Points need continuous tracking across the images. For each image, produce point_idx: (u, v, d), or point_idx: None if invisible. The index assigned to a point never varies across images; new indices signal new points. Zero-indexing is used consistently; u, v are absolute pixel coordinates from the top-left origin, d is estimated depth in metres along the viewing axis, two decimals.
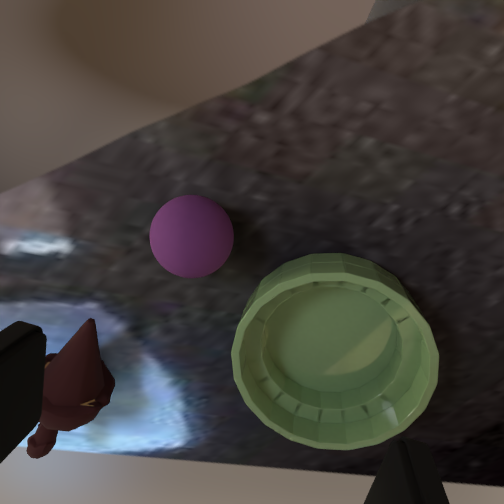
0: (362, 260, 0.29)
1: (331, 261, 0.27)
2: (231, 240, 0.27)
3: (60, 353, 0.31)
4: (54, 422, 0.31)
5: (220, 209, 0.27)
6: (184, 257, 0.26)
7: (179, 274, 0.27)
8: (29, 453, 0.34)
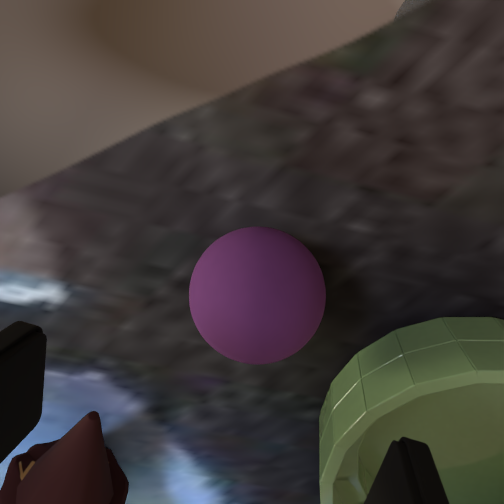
0: None
1: (491, 338, 0.16)
2: (324, 303, 0.17)
3: (47, 461, 0.21)
4: None
5: (308, 252, 0.16)
6: (254, 341, 0.15)
7: (239, 361, 0.16)
8: None
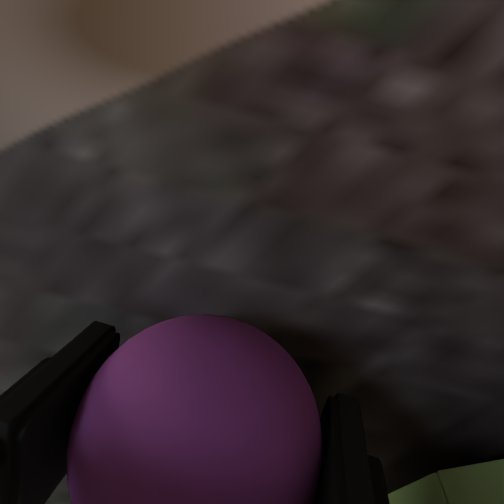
0: None
1: None
2: (321, 464, 0.09)
3: None
4: None
5: (289, 374, 0.09)
6: None
7: None
8: None
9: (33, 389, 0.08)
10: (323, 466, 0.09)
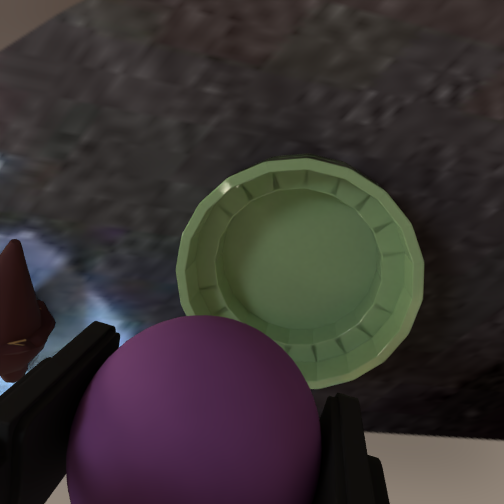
0: (333, 159, 0.24)
1: (294, 156, 0.23)
2: (320, 465, 0.09)
3: None
4: None
5: (288, 374, 0.09)
6: None
7: None
8: None
9: (33, 389, 0.08)
10: (323, 466, 0.09)
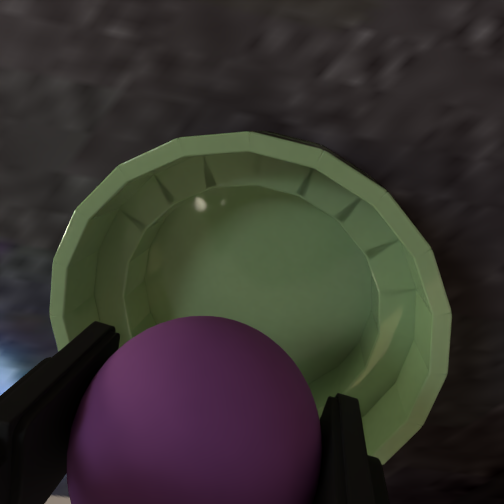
0: (303, 140, 0.15)
1: None
2: (320, 465, 0.09)
3: None
4: None
5: (288, 375, 0.09)
6: None
7: None
8: None
9: (33, 389, 0.08)
10: (323, 466, 0.09)
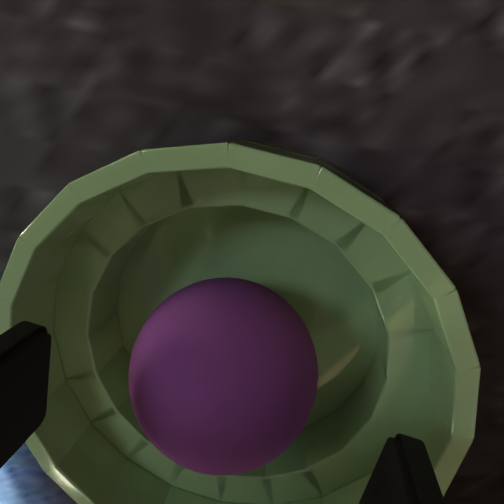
0: (298, 151, 0.13)
1: None
2: (316, 386, 0.12)
3: None
4: None
5: (293, 317, 0.12)
6: (213, 457, 0.10)
7: None
8: None
9: None
10: None
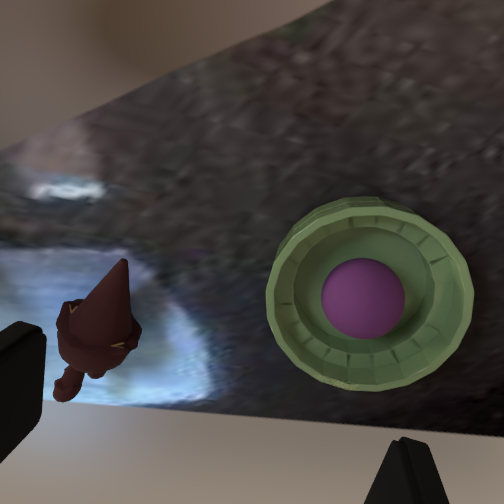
0: (397, 203, 0.29)
1: (368, 201, 0.28)
2: None
3: (91, 293, 0.31)
4: (84, 361, 0.31)
5: None
6: (369, 324, 0.26)
7: (354, 336, 0.28)
8: (55, 396, 0.34)
9: None
10: None
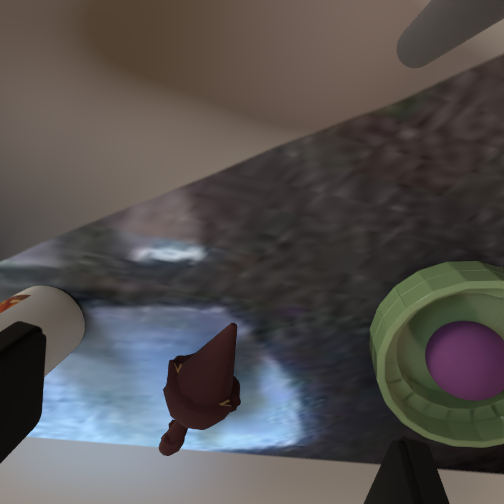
0: (499, 268, 0.30)
1: (475, 269, 0.29)
2: None
3: (201, 356, 0.33)
4: (197, 421, 0.33)
5: None
6: (483, 390, 0.28)
7: (463, 398, 0.29)
8: (162, 451, 0.35)
9: None
10: None
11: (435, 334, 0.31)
